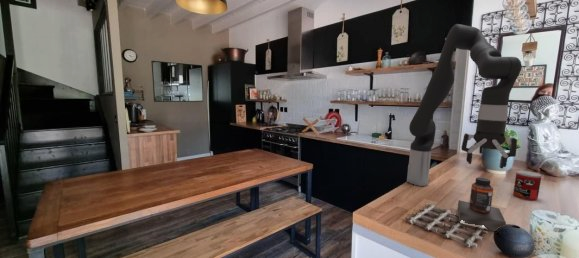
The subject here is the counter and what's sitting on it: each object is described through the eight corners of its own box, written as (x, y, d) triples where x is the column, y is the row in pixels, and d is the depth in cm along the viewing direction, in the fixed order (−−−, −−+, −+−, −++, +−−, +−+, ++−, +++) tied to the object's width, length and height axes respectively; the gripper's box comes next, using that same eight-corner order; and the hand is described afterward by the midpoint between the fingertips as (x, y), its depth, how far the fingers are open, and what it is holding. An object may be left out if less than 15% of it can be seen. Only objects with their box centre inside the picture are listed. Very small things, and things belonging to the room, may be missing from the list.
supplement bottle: (494, 214, 83) (498, 182, 81) (474, 213, 84) (478, 181, 82) (483, 207, 89) (487, 176, 87) (465, 205, 90) (469, 175, 88)
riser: (458, 223, 85) (460, 212, 84) (457, 210, 95) (458, 200, 94) (504, 234, 78) (505, 222, 78) (497, 218, 88) (499, 208, 88)
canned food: (508, 193, 112) (511, 170, 111) (524, 193, 113) (527, 170, 111) (525, 201, 105) (529, 176, 103) (542, 200, 105) (546, 176, 104)
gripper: (517, 119, 81) (510, 166, 83) (465, 116, 88) (459, 159, 91) (523, 121, 75) (515, 172, 77) (466, 117, 82) (460, 164, 85)
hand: (484, 165), depth 84 cm, fingers open, 8 cm apart
